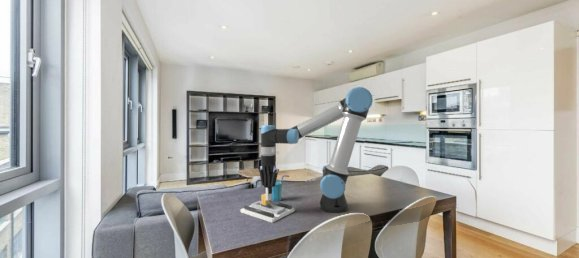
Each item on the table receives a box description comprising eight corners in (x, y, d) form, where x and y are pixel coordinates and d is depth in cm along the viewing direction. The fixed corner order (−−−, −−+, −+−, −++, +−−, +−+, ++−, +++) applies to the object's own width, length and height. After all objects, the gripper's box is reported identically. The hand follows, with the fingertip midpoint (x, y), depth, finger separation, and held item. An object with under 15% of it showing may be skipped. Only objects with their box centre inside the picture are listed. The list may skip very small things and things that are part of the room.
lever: (270, 207, 124) (270, 194, 124) (266, 209, 122) (266, 196, 121) (264, 206, 126) (264, 193, 126) (260, 207, 124) (260, 194, 124)
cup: (287, 197, 148) (287, 173, 147) (290, 200, 140) (290, 176, 140) (265, 198, 144) (265, 174, 144) (267, 203, 137) (267, 177, 136)
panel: (294, 211, 124) (294, 205, 124) (272, 222, 109) (272, 215, 109) (264, 202, 137) (264, 197, 137) (240, 212, 123) (240, 205, 122)
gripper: (282, 154, 121) (282, 200, 122) (264, 153, 129) (264, 195, 129) (273, 156, 115) (273, 204, 116) (254, 154, 123) (254, 199, 123)
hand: (268, 199), depth 122 cm, fingers closed
